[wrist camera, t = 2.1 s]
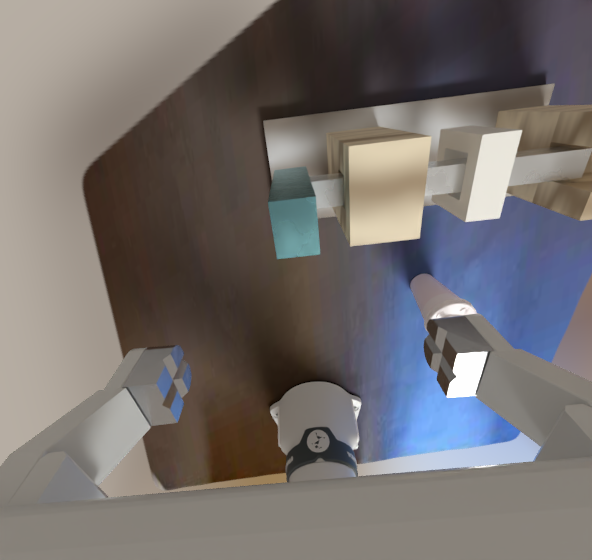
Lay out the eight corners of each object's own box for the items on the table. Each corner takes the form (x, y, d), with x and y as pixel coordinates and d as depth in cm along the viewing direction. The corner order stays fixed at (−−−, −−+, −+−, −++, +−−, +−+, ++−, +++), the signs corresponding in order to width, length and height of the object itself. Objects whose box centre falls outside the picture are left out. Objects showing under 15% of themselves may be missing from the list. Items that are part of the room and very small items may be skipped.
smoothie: (398, 273, 44) (439, 335, 32) (440, 260, 43) (499, 318, 31) (405, 305, 47) (445, 371, 35) (444, 293, 46) (500, 357, 34)
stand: (516, 192, 38) (634, 235, 25) (278, 220, 39) (274, 274, 26) (546, 84, 32) (722, 67, 19) (263, 120, 33) (248, 127, 20)
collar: (458, 197, 32) (499, 218, 26) (431, 200, 32) (465, 221, 26) (471, 125, 28) (522, 129, 22) (440, 129, 28) (482, 134, 22)
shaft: (550, 179, 29) (680, 214, 19) (280, 211, 29) (277, 259, 20) (564, 134, 27) (718, 148, 17) (274, 170, 27) (268, 202, 18)
